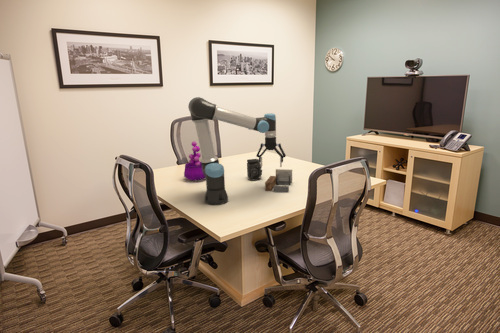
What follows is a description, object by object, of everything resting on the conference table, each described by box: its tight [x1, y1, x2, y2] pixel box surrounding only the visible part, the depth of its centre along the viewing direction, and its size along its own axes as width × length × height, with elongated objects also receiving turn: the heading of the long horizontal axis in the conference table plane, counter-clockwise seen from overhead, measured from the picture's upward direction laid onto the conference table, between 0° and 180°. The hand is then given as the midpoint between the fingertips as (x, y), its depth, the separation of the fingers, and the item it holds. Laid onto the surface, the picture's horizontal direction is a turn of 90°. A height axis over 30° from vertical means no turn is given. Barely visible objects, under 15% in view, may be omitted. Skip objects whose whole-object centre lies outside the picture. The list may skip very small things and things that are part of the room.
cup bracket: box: [275, 168, 293, 186], centre depth 238 cm, size 12×6×10 cm, turn 78°
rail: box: [264, 175, 277, 192], centre depth 233 cm, size 4×16×6 cm, turn 163°
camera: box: [246, 158, 263, 181], centre depth 251 cm, size 10×10×15 cm
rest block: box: [273, 185, 290, 193], centre depth 224 cm, size 10×4×4 cm, turn 78°
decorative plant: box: [183, 141, 206, 182], centre depth 252 cm, size 19×18×30 cm
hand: (271, 166), depth 230 cm, fingers open, 13 cm apart
